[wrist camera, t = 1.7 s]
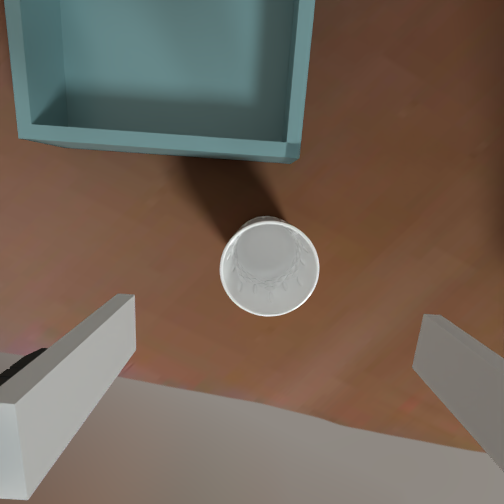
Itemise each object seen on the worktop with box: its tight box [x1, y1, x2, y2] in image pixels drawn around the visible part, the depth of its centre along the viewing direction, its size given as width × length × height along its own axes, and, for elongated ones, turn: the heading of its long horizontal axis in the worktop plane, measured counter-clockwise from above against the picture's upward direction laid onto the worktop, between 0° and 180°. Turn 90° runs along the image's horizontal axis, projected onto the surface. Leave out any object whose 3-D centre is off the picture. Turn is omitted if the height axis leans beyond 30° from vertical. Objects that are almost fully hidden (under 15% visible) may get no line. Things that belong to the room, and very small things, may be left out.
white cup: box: [220, 216, 319, 316], centre depth 28 cm, size 8×8×10 cm
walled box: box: [4, 0, 315, 164], centre depth 25 cm, size 24×20×6 cm
